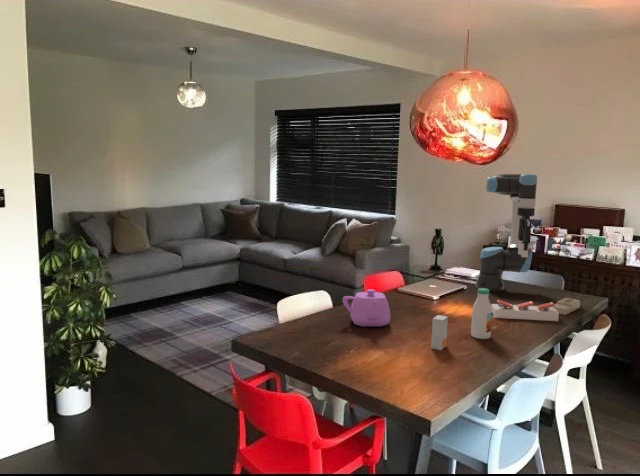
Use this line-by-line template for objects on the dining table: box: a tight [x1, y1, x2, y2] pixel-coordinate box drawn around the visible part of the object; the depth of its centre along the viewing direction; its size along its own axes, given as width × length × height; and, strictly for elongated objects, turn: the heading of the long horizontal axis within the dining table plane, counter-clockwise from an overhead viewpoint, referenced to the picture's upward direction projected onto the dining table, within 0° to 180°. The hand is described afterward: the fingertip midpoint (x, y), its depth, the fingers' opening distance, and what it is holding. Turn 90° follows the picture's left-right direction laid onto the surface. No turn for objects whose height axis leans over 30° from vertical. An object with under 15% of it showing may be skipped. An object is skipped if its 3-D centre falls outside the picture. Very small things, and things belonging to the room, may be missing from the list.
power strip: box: [490, 303, 560, 322], centre depth 246 cm, size 9×35×5 cm, turn 82°
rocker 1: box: [496, 299, 514, 308], centre depth 244 cm, size 3×7×1 cm, turn 81°
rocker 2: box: [516, 300, 535, 309], centre depth 243 cm, size 3×7×1 cm, turn 82°
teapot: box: [342, 289, 391, 328], centre depth 229 cm, size 23×21×15 cm
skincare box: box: [430, 314, 449, 351], centre depth 204 cm, size 6×4×12 cm
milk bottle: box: [470, 288, 493, 340], centre depth 216 cm, size 8×8×20 cm
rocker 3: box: [536, 301, 555, 310], centre depth 242 cm, size 3×7×1 cm, turn 82°
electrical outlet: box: [553, 297, 581, 316], centre depth 257 cm, size 7×4×18 cm
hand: (522, 255), depth 251 cm, fingers open, 6 cm apart
